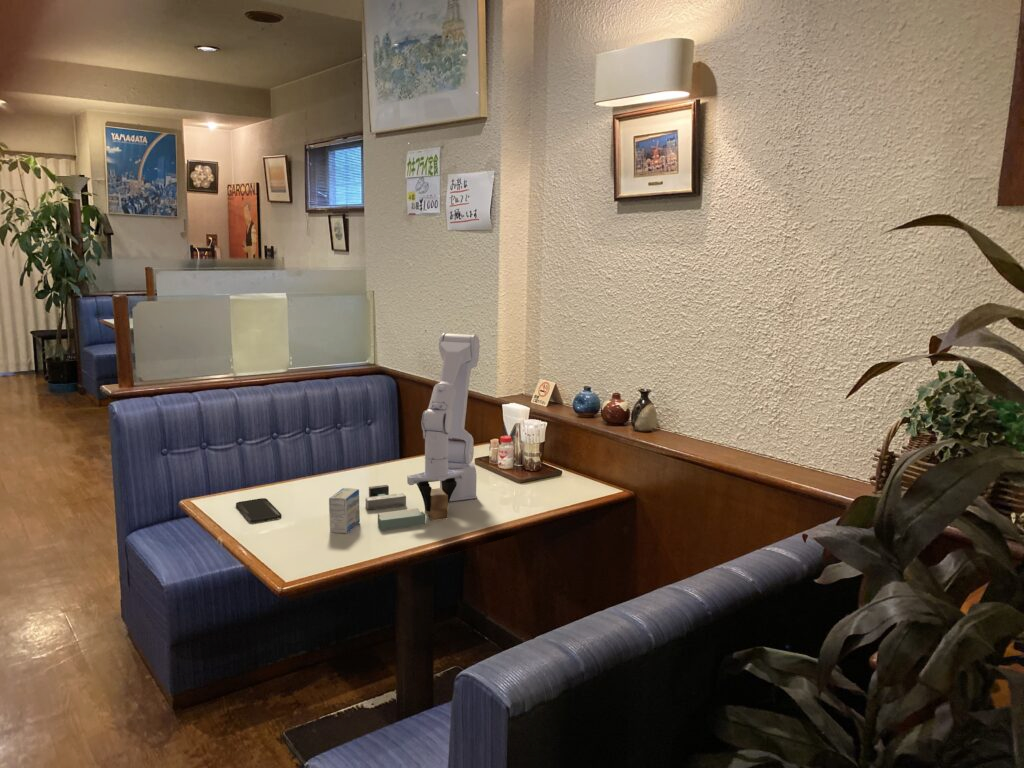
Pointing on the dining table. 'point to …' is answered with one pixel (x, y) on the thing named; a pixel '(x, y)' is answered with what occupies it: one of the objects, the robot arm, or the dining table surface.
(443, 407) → the robot arm
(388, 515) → the teal flat block
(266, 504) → the phone
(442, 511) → the walnut block
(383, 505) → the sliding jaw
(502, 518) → the dining table surface
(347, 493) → the medicine box
